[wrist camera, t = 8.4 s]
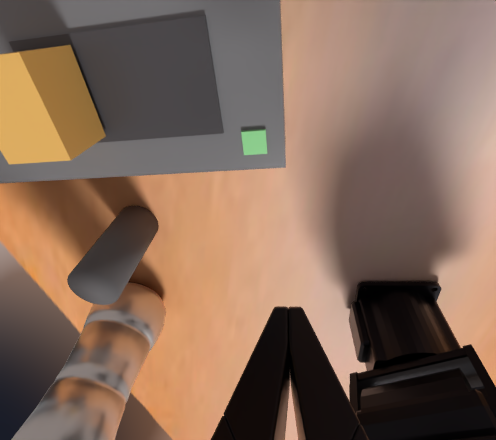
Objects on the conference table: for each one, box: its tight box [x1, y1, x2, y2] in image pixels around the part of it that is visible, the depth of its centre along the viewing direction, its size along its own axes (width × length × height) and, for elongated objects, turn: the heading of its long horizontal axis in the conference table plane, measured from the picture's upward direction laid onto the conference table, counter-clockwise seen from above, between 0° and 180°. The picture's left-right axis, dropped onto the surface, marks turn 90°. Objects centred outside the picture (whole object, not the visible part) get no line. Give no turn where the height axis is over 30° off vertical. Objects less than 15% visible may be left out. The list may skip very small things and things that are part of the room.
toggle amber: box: [0, 45, 106, 164], centre depth 13 cm, size 3×4×3 cm
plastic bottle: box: [12, 283, 166, 440], centre depth 21 cm, size 6×7×20 cm
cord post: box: [67, 206, 158, 305], centre depth 21 cm, size 3×3×7 cm
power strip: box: [0, 0, 286, 183], centre depth 16 cm, size 23×9×4 cm, turn 96°
